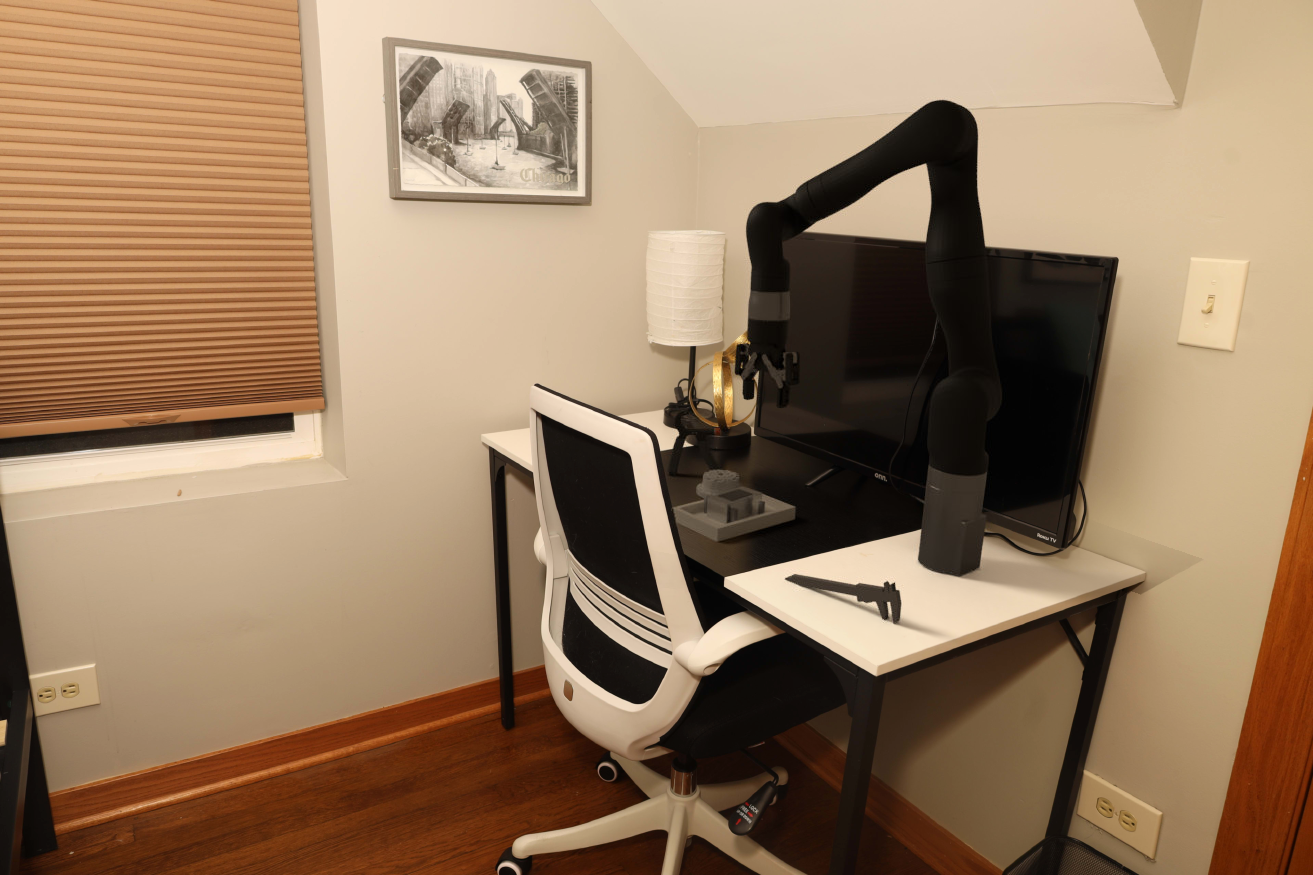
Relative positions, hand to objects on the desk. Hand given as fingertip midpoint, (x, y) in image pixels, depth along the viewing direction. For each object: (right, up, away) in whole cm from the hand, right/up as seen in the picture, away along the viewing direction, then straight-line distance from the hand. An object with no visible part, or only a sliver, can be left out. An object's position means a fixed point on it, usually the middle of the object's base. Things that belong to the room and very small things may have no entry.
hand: (764, 403), depth 162 cm
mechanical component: (-7, -18, +19) cm, 27 cm away
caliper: (+8, -32, -27) cm, 43 cm away
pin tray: (-5, -22, +5) cm, 23 cm away
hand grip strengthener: (-11, -15, +29) cm, 35 cm away
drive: (-5, -21, +4) cm, 22 cm away
